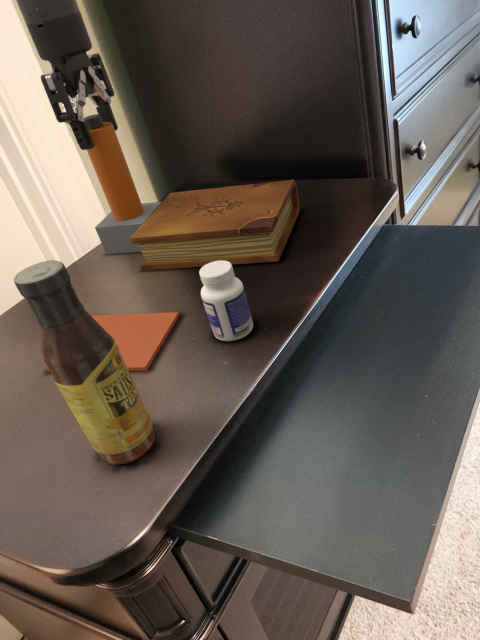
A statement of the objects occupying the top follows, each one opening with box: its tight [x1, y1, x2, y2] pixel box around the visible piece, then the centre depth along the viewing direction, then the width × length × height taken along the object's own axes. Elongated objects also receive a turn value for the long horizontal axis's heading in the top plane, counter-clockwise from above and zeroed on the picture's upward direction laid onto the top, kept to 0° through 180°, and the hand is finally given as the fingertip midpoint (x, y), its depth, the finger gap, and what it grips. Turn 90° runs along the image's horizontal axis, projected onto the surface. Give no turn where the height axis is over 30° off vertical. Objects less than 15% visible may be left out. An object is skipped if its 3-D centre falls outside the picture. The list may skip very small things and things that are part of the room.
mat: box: [45, 311, 180, 373], centre depth 69 cm, size 14×12×1 cm
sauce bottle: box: [13, 259, 156, 466], centre depth 48 cm, size 7×6×20 cm
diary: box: [130, 179, 301, 272], centre depth 87 cm, size 23×19×6 cm
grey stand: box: [94, 201, 163, 255], centre depth 92 cm, size 9×9×5 cm
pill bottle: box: [198, 261, 254, 342], centre depth 64 cm, size 5×5×9 cm
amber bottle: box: [83, 113, 144, 221], centre depth 86 cm, size 5×5×16 cm
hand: (100, 139), depth 83 cm, fingers open, 8 cm apart
